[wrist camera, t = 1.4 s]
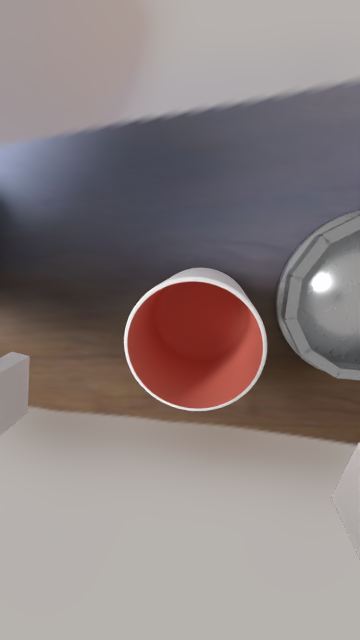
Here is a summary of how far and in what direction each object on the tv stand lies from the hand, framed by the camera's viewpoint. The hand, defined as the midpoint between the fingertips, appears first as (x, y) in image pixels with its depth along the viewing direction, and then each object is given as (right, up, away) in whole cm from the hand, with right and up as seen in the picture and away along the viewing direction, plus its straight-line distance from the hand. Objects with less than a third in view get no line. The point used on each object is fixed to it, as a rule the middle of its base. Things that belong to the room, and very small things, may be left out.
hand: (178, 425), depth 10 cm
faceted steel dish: (+18, +6, +14) cm, 24 cm away
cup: (+2, +5, +17) cm, 18 cm away
